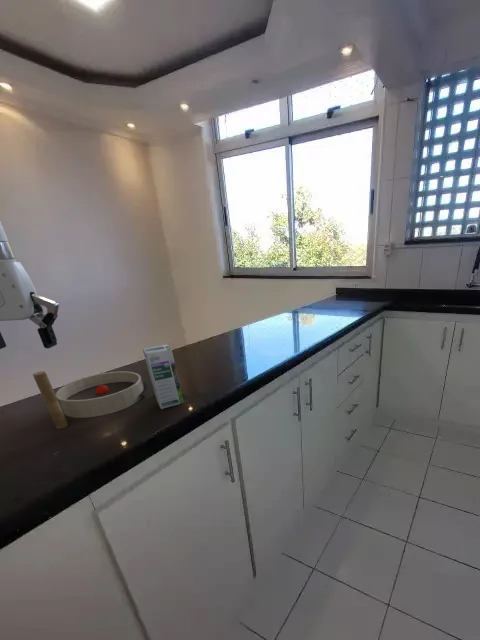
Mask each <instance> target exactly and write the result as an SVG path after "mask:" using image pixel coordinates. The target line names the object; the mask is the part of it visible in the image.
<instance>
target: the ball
mask: <svg viewBox="0 0 480 640" xmlns="http://www.w3.org/2000/svg"><path fill="white" fill-rule="evenodd" d="M109 392H110V388H109V386H107V385H106V384H102V385H98V386H96V387H95V393H96V394H97V395H98V396H102V395H107V394H109Z"/></svg>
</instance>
